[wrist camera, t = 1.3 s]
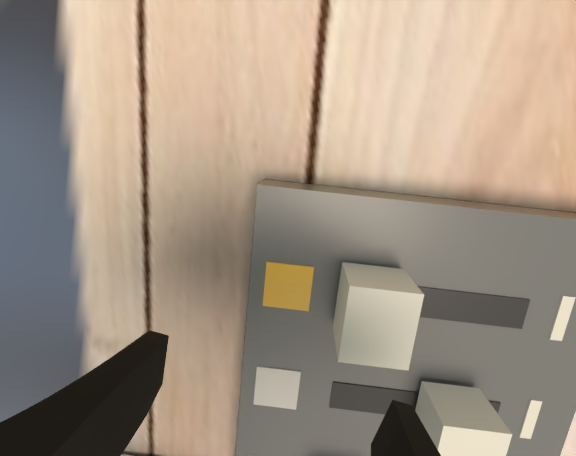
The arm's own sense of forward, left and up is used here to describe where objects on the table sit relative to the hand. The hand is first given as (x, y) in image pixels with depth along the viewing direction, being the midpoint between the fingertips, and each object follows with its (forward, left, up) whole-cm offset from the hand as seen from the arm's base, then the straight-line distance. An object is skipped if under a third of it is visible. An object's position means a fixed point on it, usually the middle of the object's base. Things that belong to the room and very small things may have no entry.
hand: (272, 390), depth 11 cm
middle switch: (+9, -6, -7) cm, 13 cm away
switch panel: (+7, -6, -10) cm, 14 cm away
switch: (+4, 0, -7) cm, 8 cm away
